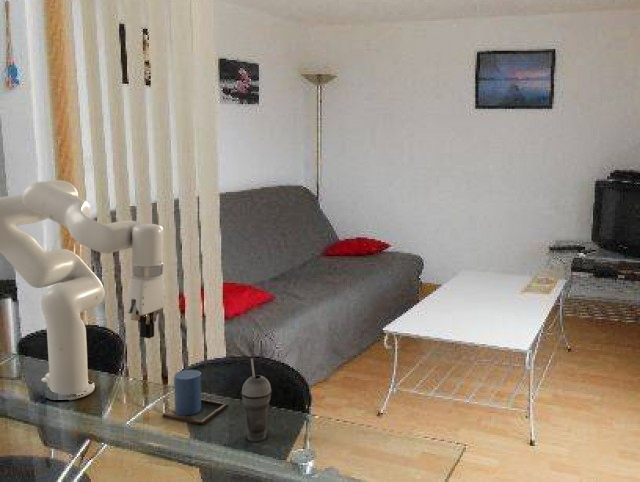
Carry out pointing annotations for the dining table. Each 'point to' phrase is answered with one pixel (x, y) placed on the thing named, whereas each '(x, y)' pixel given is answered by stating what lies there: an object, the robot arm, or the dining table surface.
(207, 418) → the frame
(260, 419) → the beverage cup
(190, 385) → the can
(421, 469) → the dining table surface
